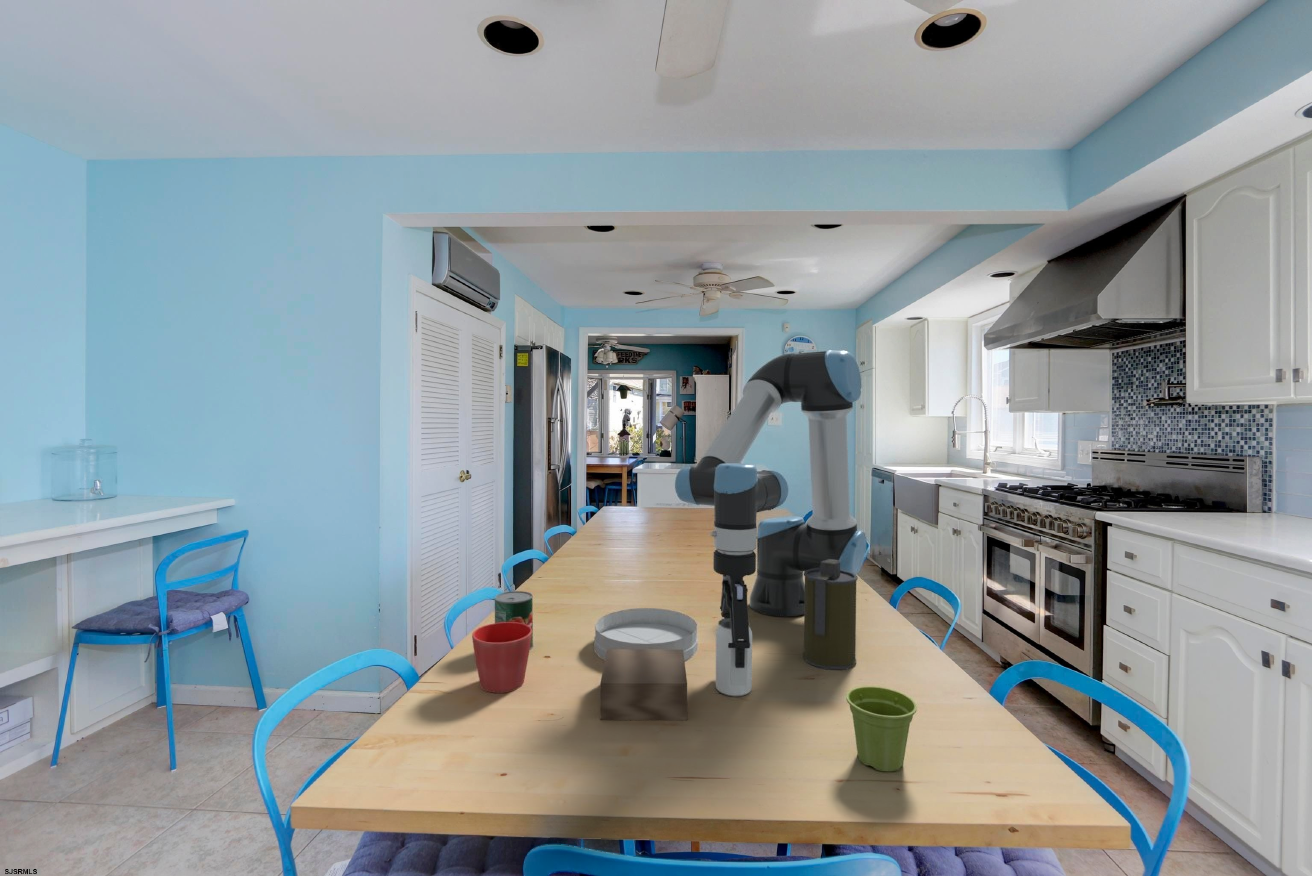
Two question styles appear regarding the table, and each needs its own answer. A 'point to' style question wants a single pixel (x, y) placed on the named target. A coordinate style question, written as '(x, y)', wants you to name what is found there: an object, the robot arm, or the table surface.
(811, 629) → the canister
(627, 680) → the walnut base
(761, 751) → the table surface
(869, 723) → the plant pot
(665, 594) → the table surface
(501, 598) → the canned tomato
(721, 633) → the can
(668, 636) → the dish
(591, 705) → the table surface
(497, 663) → the flower pot
